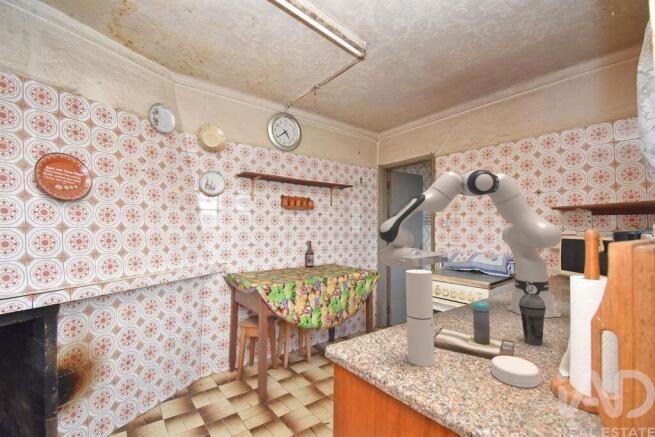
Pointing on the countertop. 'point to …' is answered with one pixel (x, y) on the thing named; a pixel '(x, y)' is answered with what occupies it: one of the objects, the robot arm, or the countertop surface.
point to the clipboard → (472, 344)
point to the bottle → (481, 322)
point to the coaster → (515, 371)
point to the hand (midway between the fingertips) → (440, 260)
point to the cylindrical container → (420, 317)
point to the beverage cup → (532, 317)
